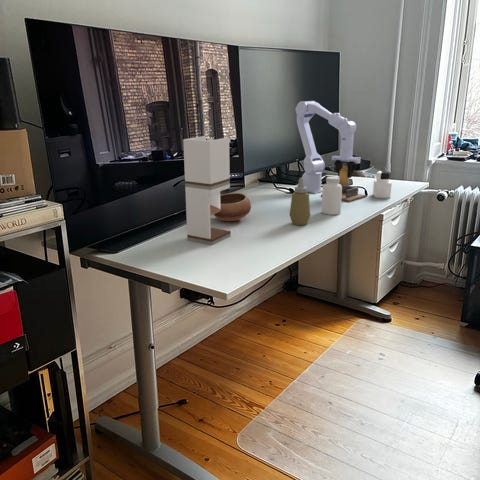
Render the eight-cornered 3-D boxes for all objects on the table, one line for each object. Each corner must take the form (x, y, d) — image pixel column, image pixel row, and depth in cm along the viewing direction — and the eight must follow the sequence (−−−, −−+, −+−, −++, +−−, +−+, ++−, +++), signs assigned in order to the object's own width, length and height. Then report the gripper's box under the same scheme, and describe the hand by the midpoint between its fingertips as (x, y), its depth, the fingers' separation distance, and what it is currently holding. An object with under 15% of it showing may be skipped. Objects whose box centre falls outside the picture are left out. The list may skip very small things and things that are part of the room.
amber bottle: (336, 184, 231) (337, 163, 227) (343, 183, 233) (344, 162, 230) (344, 185, 227) (345, 164, 224) (350, 184, 230) (352, 163, 227)
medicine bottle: (387, 194, 237) (389, 170, 233) (390, 198, 230) (392, 172, 226) (372, 194, 237) (374, 170, 234) (375, 197, 231) (377, 172, 227)
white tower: (212, 245, 166) (209, 141, 155) (187, 240, 171) (183, 139, 160) (230, 236, 175) (229, 137, 164) (206, 231, 180) (203, 136, 170)
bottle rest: (321, 196, 233) (321, 187, 232) (338, 192, 243) (338, 183, 241) (349, 202, 222) (350, 192, 221) (366, 197, 232) (366, 187, 230)
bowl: (203, 221, 195) (203, 196, 191) (228, 212, 206) (227, 189, 203) (234, 227, 185) (234, 202, 182) (258, 218, 197) (258, 194, 194)
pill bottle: (342, 211, 207) (344, 176, 202) (337, 216, 200) (340, 180, 196) (324, 209, 210) (326, 175, 206) (319, 214, 203) (320, 178, 199)
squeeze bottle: (311, 221, 192) (313, 176, 187) (307, 227, 185) (309, 180, 180) (291, 220, 195) (293, 175, 189) (287, 225, 188) (288, 179, 182)
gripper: (328, 147, 228) (327, 176, 232) (355, 150, 218) (353, 180, 222) (337, 145, 232) (335, 174, 237) (363, 148, 222) (361, 178, 227)
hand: (344, 177), depth 230 cm, fingers closed on amber bottle, 5 cm apart
